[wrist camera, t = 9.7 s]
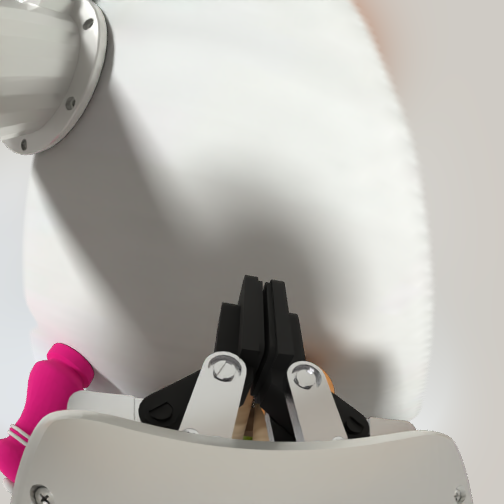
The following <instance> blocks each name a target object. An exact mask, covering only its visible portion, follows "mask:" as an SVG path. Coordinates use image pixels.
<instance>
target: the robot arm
mask: <svg viewBox="0 0 504 504" xmlns="http://www.w3.org/2000/svg"><path fill="white" fill-rule="evenodd" d="M106 46H107V28H106V22H105V17H104V15H103V13H102V11H101V9H100V8H99V7H98V6H97V5H96V4H95V3H94V2H93V1H91V0H22V1H19V0H0V141H2V142H3V143H4V144H5V145H6V147H7V148H9V149H10V150H12V151H13V152H14V153H18V154H21V155H31V154H35V153H38V152H42V151H44V150H46V149H48V148H50V147H52V146H54V145H55V144H56V143H58V142H59V141H60V140H61V139H63V138H64V137H65V136H66V134H67V133H68V132H69V131H70V130H71V129H72V128H73V127H74V125H75V124H76V122H77V121H78V119H79V118H80V116H81V115H82V114H83V112H84V110H85V108H86V106H87V104H88V103H89V101H90V99H91V97H92V95H93V92H94V90H95V87H96V85H97V82H98V80H99V77H100V73H101V70H102V67H103V63H104V58H105V52H106ZM249 390H250V395H251V396H255V403H256V404H260V407H261V408H262V409H263V410H264V411H265V421H266V427H267V432H268V437H269V441H252V440H240V439H231V438H232V434H233V429H234V425H235V421H236V417H237V412H238V408H239V407H241V406H242V405H243V404H244V402H245V399H246V397H247V395H248V392H249ZM10 504H473V500H472V495H471V490H470V485H469V480H468V477H467V473H466V470H465V466H464V463H463V460H462V457H461V455H460V452H459V450H458V448H457V446H456V444H455V443H454V441H453V440H452V439H451V438H450V437H449V436H447V435H445V434H442V433H439V432H434V431H428V430H416V429H415V427H414V426H413V424H411V423H410V422H408V421H403V420H393V419H384V418H376V417H369V418H368V419H366V418H365V417H364V416H363V415H362V414H361V413H359V412H358V411H357V410H355V409H354V408H353V407H351V406H350V405H348V404H347V403H346V402H344V401H343V400H342V399H340V398H339V397H338V396H336V395H335V394H334V393H333V392H331V390H330V388H329V385H328V382H327V380H326V377H325V375H324V373H323V371H322V370H321V369H320V368H319V367H318V366H317V365H315V364H313V363H311V362H308V361H306V360H305V354H304V348H303V342H302V336H301V330H300V324H299V319H298V315H297V314H293V313H289V311H288V304H287V297H286V290H285V284H284V282H282V281H276V280H271V281H270V283H268V282H266V283H265V285H264V289H263V285H262V281H258V277H254V276H248V275H245V277H244V280H243V285H242V289H241V293H240V297H239V301H238V305H235V304H229V303H224V302H222V306H221V312H220V317H219V323H218V329H217V336H216V343H215V350H214V353H213V354H211V355H209V356H208V357H207V358H206V359H205V361H204V363H203V366H202V369H201V370H199V371H197V372H195V373H193V374H191V375H189V376H187V377H185V378H183V379H181V380H180V381H178V382H176V383H174V384H172V385H170V386H167V387H165V388H163V389H161V390H159V391H157V392H155V393H153V394H151V395H149V396H147V397H146V398H134V396H133V395H121V394H111V393H102V392H94V391H87V390H80V391H77V392H75V393H73V394H72V395H71V396H70V398H69V400H68V404H67V410H62V411H55V412H52V413H49V414H47V415H46V416H45V417H43V418H42V419H41V420H40V422H39V423H38V424H37V426H36V427H35V429H34V430H33V432H32V434H31V436H30V438H29V440H28V443H27V445H26V447H25V450H24V452H23V455H22V458H21V461H20V465H19V468H18V471H17V475H16V479H15V483H14V487H13V492H12V497H11V503H10Z"/></svg>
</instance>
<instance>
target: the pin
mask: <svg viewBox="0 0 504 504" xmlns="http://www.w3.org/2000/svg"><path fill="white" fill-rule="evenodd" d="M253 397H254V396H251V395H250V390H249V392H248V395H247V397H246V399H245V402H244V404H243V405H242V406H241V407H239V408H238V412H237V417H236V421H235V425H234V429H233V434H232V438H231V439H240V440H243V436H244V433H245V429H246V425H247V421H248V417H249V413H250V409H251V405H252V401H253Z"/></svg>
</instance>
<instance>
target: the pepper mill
mask: <svg viewBox="0 0 504 504" xmlns="http://www.w3.org/2000/svg"><path fill="white" fill-rule="evenodd" d="M47 359H48V360H43V361H39V362H37V363H36V364H35V365H34V367H33V369H32V371H31V373H30V376H29V380H28V389H27V398H26V404H25V407H24V410H23V412H22V415H21V417H20V419H19V420H18V421H17V423H16V424H15V425H14V424H11V425H10V426H11V428H10V430H8V431H7V433H8V434H9V435H10V436H9V437H7V438H4V439H0V471H1V472H2V473H3V474H4V475H5V476H6V477H7V478H5V479H4V480H3V486H4V488H5V489H6V490H7V491H8V492H10V493H12V492H13V487H14V483H15V479H16V475H17V471H18V468H19V465H20V461H21V458H22V455H23V452H24V450H25V447H26V445H27V443H28V440H29V438H30V436H31V434H32V432H33V430H34V429H35V427H36V426H37V424H38V423H39V422H40V420H41V419H42V418H43V417H45V416H46V415H47V414H49V413H52V412H55V411H62V410H67V404H68V400H69V398H70V396H71V395H72V394H73V393H75V392H77V391H80V390H84V389H83V388H87V387H88V386H89V385H90V383H91V381H92V379H93V377H94V372H93V369H92V367H91V365H90V364H89V363H88V361H87V360H86V359H85V358H84V357H83V356H82V355H81V354H79V353H78V352H77V351H75V350H74V349H72V348H71V347H69V346H67V345H64V344H61V343H56V344H54V345H53V346H52V348H51V349H50V350H49V352H48V353H47Z"/></svg>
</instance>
